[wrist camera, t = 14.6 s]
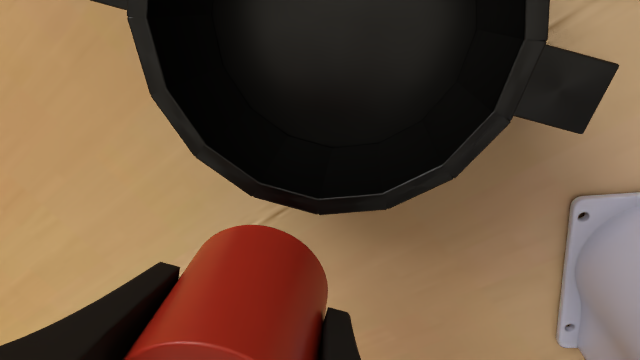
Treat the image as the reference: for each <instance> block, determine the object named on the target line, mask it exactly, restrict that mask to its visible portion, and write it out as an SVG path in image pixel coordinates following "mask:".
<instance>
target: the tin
mask: <svg viewBox="0 0 640 360" xmlns="http://www.w3.org/2000/svg"><path fill="white" fill-rule="evenodd" d="M327 296H328V284H327V279H326V275H325V272H324V270H323V267H322V266H321V264H320V262H319V260H318V259H317V257H316V256H315V255H314V254H313V252H312V251H311V250H310V249H309V248H308V247H307V246H306V245H305V244H303V243H302V242H301V241H300V240H298V239H296V238H295V237H293V236H292V235H290V234H288V233H286V232H283V231H281V230H278V229H275V228H272V227H267V226H261V225H242V226H236V227H232V228H228V229H226V230H223V231H221V232H219V233H217V234H215V235H214V236H212V237H211V238H210V239H208V240H207V241H206V242H205V243H204V244H203V246H202V247H201V248H200V250H199V251H198V252H197V254H196V255H195V257H194V258H193V260H192V261H191V262H190V264H189V265H188V267H187V268H186V270H185V271H184V272H183V274H182V275H181V277H180V278H179V280H178V281H177V282H176V284H175V285H174V287H173V288H172V290H171V291H170V292H169V294H168V295H167V297H166V298H165V300H164V301H163V302H162V304H161V305H160V307H159V308H158V310H157V311H156V312H155V314H154V315H153V317H152V318H151V320H150V321H149V322H148V324H147V325H146V327H145V328H144V330H143V331H142V332H141V334H140V335H139V337H138V338H137V340H136V341H135V342H134V344H133V345H132V347H131V348H130V350H129V351H128V352H127V354H126V355H125V357H124V358H123V360H318V358H319V350H320V343H321V336H322V329H323V322H324V317H325V310H326V304H327Z"/></svg>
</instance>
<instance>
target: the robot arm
mask: <svg viewBox="0 0 640 360" xmlns="http://www.w3.org/2000/svg"><path fill="white" fill-rule="evenodd" d="M583 212H585V215H584V216H583V217H582V218H578V216H579V214H581V213H583ZM179 270H180V267H177V266H174V265H170V264H166V263H163V262H160V263H158V264H156V265H154V266H153V267H151V268H149V269H148V270H146V271H145V272H143V273H142V274H140V275H138V276H137V277H135V278H134V279H132V280H130V281H129V282H127V283H126V284H124V285H122V286H121V287H119V288H117V289H116V290H114V291H112V292H111V293H109V294H107V295H106V296H104V297H102V298H101V299H99V300H97V301H95V302H94V303H92V304H90V305H88V306H86V307H84V308H82V309H81V310H79V311H77V312H75V313H73V314H71V315H69V316H67V317H66V318H64V319H62V320H59V321H57V322H55V323H53V324H51V325H49V326H47V327H45V328H43V329H41V330H38V331H36V332H34V333H32V334H29V335H27V336H25V337H22V338H20V339H17V340H15V341H12V342H9V343H7V344H4V345H2V346H0V360H123V358H124V357H125V355H126V354H127V352H128V351H129V350H130V348H131V347H132V345H133V344H134V342H135V341H136V340H137V338H138V337H139V335H140V334H141V332H142V331H143V330H144V328H145V327H146V325H147V324H148V322H149V321H150V320H151V318H152V317H153V315H154V314H155V312H156V311H157V310H158V308H159V307H160V305H161V304H162V302H163V301H164V300H165V298H166V297H167V295H168V294H169V292H170V291H171V290H172V288H173V287H174V285H175V284H176V282H177V281H178V278H179ZM569 324H571V325H570V326H567V327H565V326H566V325H569ZM556 340H557V342H558V344H559V345H560V346H561V347H564V348H579V350H580V351H581V353H582V355H583V356H584V358H585V360H640V192H635V193H619V194H604V195H589V196H580V197H577V198H575V199H574V200H573V201H572V203H571V206H570V215H569V224H568V233H567V242H566V251H565V260H564V269H563V279H562V288H561V297H560V306H559V315H558V324H557V333H556ZM318 360H361V358H360V355H359V352H358V348H357V345H356V341H355V337H354V333H353V329H352V324H351V318H350V315H349V314H348V312H344V311H340V310H337V309H333V308H329V307H328V309H327V312H326V316H325V319H324V322H323V329H322V336H321V343H320V350H319V358H318Z"/></svg>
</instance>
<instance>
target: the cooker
mask: <svg viewBox="0 0 640 360" xmlns="http://www.w3.org/2000/svg"><path fill="white" fill-rule="evenodd" d="M91 1H94V2H98V3H102V4H105V5H109V6H113V7H116V8H120V9H124V10H127V16H128V22H129V25H130V29H131V32H132V35H133V39H134V42H135V45H136V49H137V52H138V55H139V59H140V62H141V65H142V69H143V72H144V75H145V79H146V82H147V85H148V89H149V92H150V94H151V97H152V98H153V100H154V101H155V102H156V104H157V105H158V107H159V108H160V109H161V111H162V112H163V113H164V115H165V116H166V118H167V119H168V120H169V122H170V123H171V125H172V126H173V127H174V129H175V130H176V131H177V133H178V134H179V136H180V137H181V138H182V140H183V141H184V143H185V144H186V145H187V147H188V148H189V150H190V151H191V152H192V154H193V155H194V156H195V157H196V158H197V159H199V160H200V161H202V162H203V163H204V164H206V165H207V166H209V167H210V168H212V169H213V170H214V171H216V172H217V173H219V174H220V175H222V176H223V177H224V178H226V179H227V180H229V181H230V182H232V183H233V184H234V185H236V186H237V187H239V188H240V189H242V190H243V191H244V192H246V193H247V194H249V195H250V196H253V197H255V198H259V199H262V200H266V201H269V202H273V203H277V204H280V205H284V206H288V207H291V208H295V209H299V210H302V211H306V212H309V213H313V214H319V215H327V214H339V213H351V212H363V211H375V210H386V209H387V208H388V209H390V208H392V207H394V206H396V205H398V204H400V203H403V202H405V201H407V200H409V199H411V198H413V197H415V196H418V195H420V194H422V193H424V192H426V191H428V190H431V189H433V188H435V187H437V186H439V185H441V184H443V183H446V182H448V181H450V180H452V179H453V178H456V177H457V176H458V175H459V174H460V173H461V172H462V171H463V170H464V169H465V168H466V167H467V166H468V165H469V164H470V163H471V162H472V161H473V160H474V159H475V158H476V157H477V156H478V155H479V154H480V153H481V152H482V151H483V150H484V149H485V148H486V147H487V146H488V145H489V144H490V143H491V141H492V140H493V139H494V138H495V137H496V136H497V135H498V134H499V133H500V132H501V131H502V130H503V129H504V128H505V127H506V126H507V125H508V124H509V123H510V121H511V120H512V118H513V116H516V117H519V118H523V119H527V120H530V121H534V122H538V123H541V124H545V125H549V126H552V127H556V128H560V129H563V130H567V131H571V132H574V133H578V134H583V133H584V131H585V129H586V127H587V125H588V123H589V122H590V120H591V118H592V116H593V114H594V112H595V110H596V108H597V107H598V105H599V103H600V101H601V99H602V97H603V95H604V93H605V92H606V90H607V88H608V86H609V84H610V82H611V80H612V79H613V77H614V75H615V73H616V71H617V69H618V67H619V65H618V64H616V63H613V62H609V61H605V60H602V59H598V58H594V57H591V56H587V55H583V54H580V53H576V52H572V51H569V50H565V49H561V48H558V47H554V46H550V45H547V44H546V40H547V39H548V24H549V5H550V0H91Z"/></svg>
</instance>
